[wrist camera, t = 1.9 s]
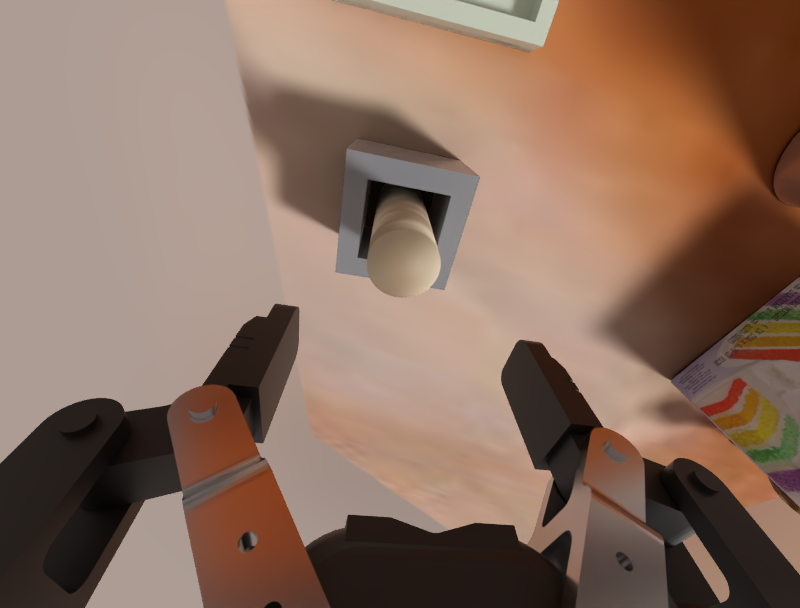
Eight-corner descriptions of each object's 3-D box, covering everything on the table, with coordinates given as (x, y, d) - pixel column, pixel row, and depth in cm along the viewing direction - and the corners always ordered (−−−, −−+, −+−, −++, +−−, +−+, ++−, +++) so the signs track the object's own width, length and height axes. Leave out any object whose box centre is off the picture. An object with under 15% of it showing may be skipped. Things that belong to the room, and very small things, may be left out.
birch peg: (427, 183, 27) (449, 237, 16) (417, 227, 29) (430, 302, 18) (381, 174, 26) (372, 223, 15) (374, 219, 28) (362, 291, 17)
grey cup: (460, 160, 26) (479, 176, 20) (434, 254, 30) (444, 290, 24) (357, 138, 25) (346, 148, 19) (347, 238, 29) (335, 272, 23)
